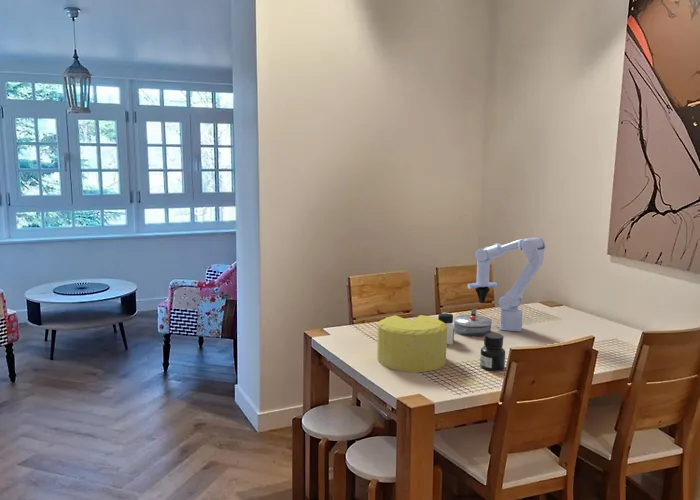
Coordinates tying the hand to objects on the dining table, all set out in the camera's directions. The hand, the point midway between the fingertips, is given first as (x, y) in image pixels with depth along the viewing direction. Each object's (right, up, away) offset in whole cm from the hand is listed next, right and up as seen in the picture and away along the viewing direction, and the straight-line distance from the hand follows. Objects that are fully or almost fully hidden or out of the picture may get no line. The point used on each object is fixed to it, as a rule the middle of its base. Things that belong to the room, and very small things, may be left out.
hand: (481, 302), depth 281 cm
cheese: (-38, -17, -52) cm, 67 cm away
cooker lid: (-7, -7, -12) cm, 15 cm away
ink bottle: (-9, -19, -59) cm, 63 cm away
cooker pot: (-7, -11, -12) cm, 18 cm away
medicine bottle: (-22, -14, -29) cm, 39 cm away
